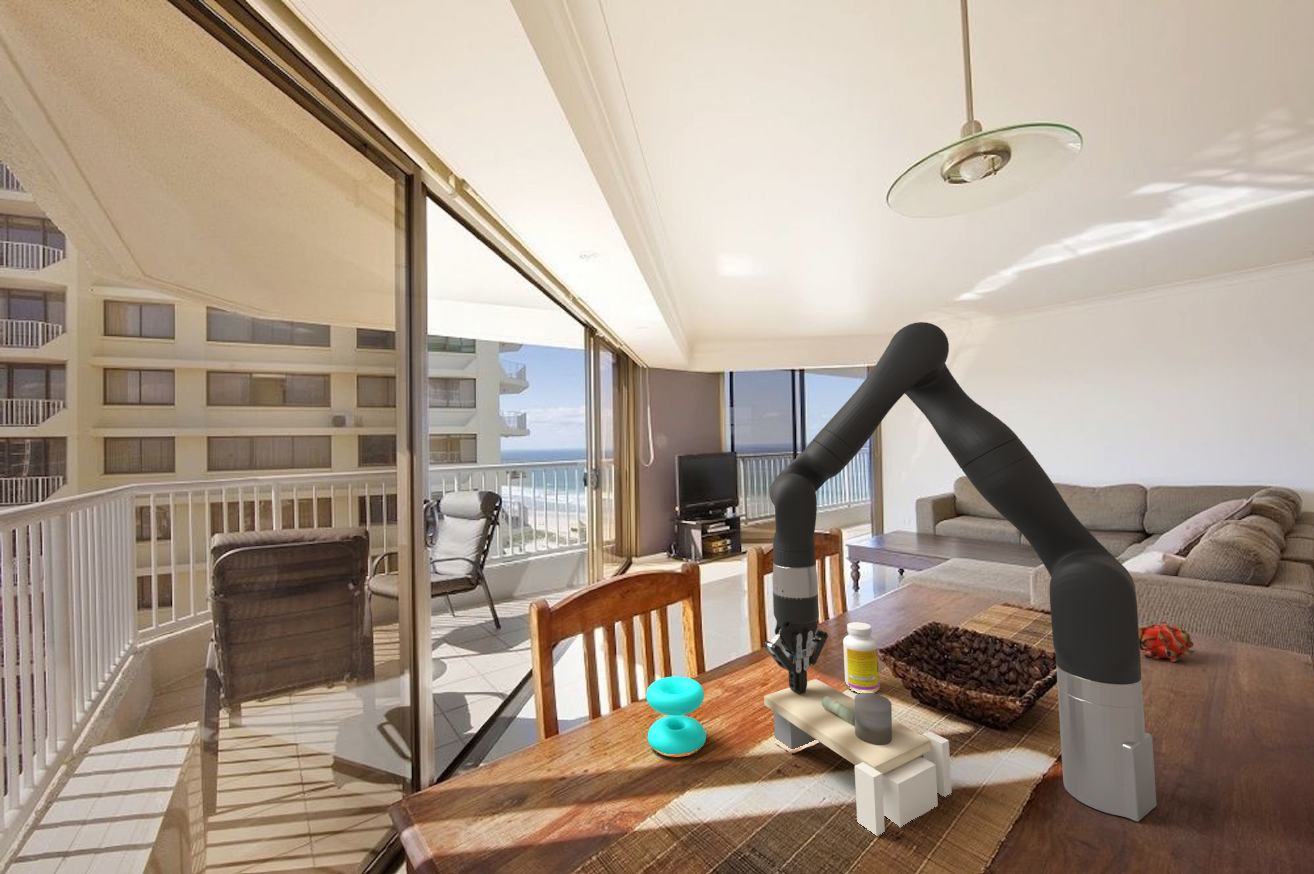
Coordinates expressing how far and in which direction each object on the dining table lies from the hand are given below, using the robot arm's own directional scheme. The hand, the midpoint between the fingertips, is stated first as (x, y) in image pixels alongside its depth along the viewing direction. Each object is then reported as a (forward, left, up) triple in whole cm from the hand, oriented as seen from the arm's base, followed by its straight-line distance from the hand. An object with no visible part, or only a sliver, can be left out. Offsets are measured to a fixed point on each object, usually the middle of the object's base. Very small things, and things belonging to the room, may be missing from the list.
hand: (798, 691), depth 91 cm
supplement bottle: (+8, -25, -9) cm, 28 cm away
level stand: (-10, 0, -8) cm, 13 cm away
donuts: (+11, +18, -9) cm, 23 cm away
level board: (-9, 0, -2) cm, 9 cm away
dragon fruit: (-19, -91, -9) cm, 93 cm away
